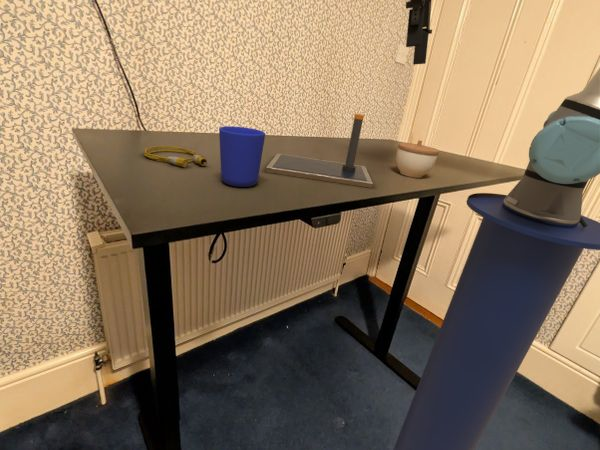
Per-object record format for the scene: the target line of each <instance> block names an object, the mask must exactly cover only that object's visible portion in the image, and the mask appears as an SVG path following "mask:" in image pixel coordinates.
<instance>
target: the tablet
mask: <svg viewBox="0 0 600 450" xmlns="http://www.w3.org/2000/svg"><path fill="white" fill-rule="evenodd" d="M343 164H346V162H337V161H332V160H324V159H319V158H312V157H305V156H299V155H298V156H297V155H292V154H285V153H280V152H279V153H276V155H275V156H274V157H273V158H272V160H271V161H270V162H269V163H268V165H267V166H265V172H266V173H269V174H270V173H271V174H275V175H276V174H277V175H283V176H290V177H297V178H302V179H310V180H315V181H316V180H317V181H323V182H330V183H337V184H343V185H350V186H356V187H362V188H369V189H372V188H373V185H374V183H373V180H372V178H371V176H370V174H369V172H368V170H367V168H366V165H358V164H354V166H356V169H355V172H346V171H343V170H342V167H343Z"/></svg>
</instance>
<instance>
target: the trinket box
mask: <svg viewBox="0 0 600 450" xmlns="http://www.w3.org/2000/svg"><path fill="white" fill-rule="evenodd" d="M422 143H423V140H420V139H419V140H417V143H413V142H411V143H410V142H409V143H408V142H399V143H398V144H397V150H396V153H395V164H396V167H397V169H398V170H399V173H400V174H401V175H403V176H406V177H410V178H414V179H415V178H417V179H421V178H423V177H424V176H426V175H427V174H428V173H430V172H431V171H432V169H433V168H434V166H435V163H436V161H437V158H438V155H439V153H440V150H439V149H437V148H435V147H431V146H428V145H424V144H422Z"/></svg>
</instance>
